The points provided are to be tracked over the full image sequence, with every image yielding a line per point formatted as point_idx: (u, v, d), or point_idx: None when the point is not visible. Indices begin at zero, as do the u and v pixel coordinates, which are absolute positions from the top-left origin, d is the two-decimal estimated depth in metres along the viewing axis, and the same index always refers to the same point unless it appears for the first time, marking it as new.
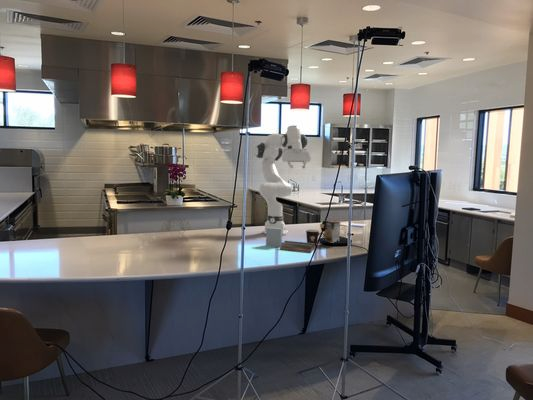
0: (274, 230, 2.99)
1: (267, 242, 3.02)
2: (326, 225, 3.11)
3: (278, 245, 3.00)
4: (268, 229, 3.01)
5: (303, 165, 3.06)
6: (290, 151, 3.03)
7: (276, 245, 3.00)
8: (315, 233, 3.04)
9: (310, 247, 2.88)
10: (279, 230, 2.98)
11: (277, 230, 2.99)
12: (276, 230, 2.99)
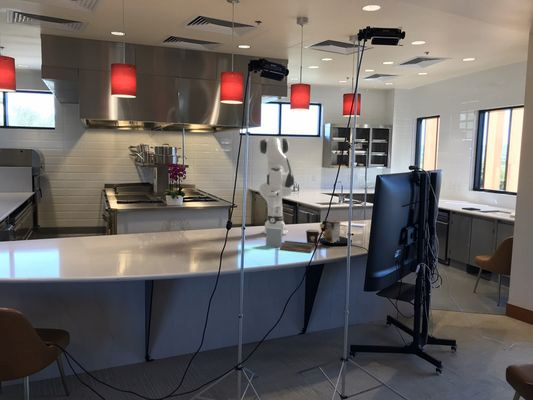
0: (274, 230, 2.99)
1: (267, 242, 3.02)
2: (326, 225, 3.11)
3: (278, 245, 3.00)
4: (268, 229, 3.01)
5: (278, 210, 3.03)
6: (276, 198, 2.93)
7: (276, 245, 3.00)
8: (315, 233, 3.04)
9: (310, 247, 2.88)
10: (279, 230, 2.98)
11: (277, 230, 2.99)
12: (276, 230, 2.99)
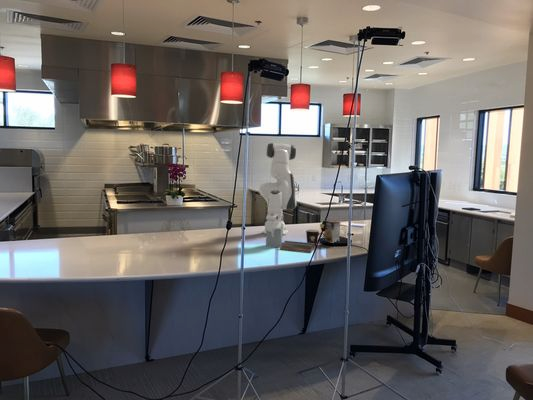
0: None
1: (267, 242, 3.02)
2: (326, 225, 3.11)
3: (278, 245, 3.00)
4: None
5: None
6: (275, 221, 2.95)
7: (276, 245, 3.00)
8: (315, 233, 3.04)
9: (310, 247, 2.88)
10: (279, 230, 2.98)
11: (277, 230, 2.99)
12: (276, 230, 2.99)
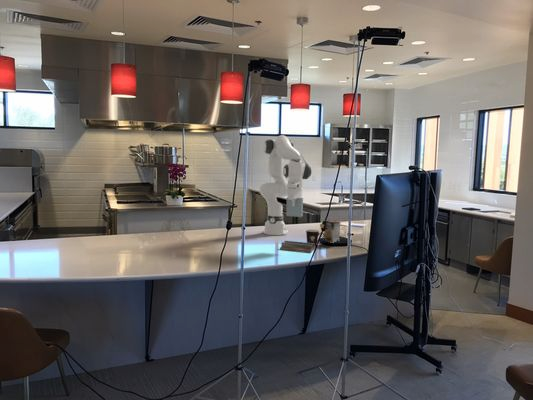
0: (295, 199, 2.91)
1: (287, 212, 2.93)
2: (326, 225, 3.11)
3: (299, 215, 2.91)
4: None
5: None
6: (296, 189, 2.86)
7: (297, 215, 2.91)
8: (315, 233, 3.04)
9: (310, 247, 2.88)
10: (300, 199, 2.90)
11: (298, 199, 2.90)
12: (297, 199, 2.90)
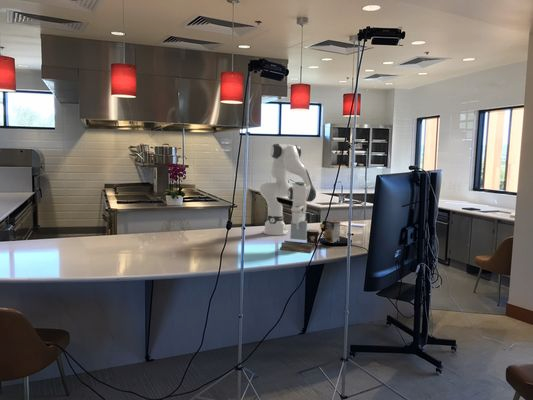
0: None
1: (292, 235, 2.94)
2: (326, 225, 3.11)
3: (303, 238, 2.91)
4: None
5: None
6: (300, 213, 2.87)
7: (301, 238, 2.92)
8: (315, 233, 3.04)
9: (310, 247, 2.88)
10: (304, 222, 2.90)
11: (302, 222, 2.91)
12: (302, 223, 2.91)
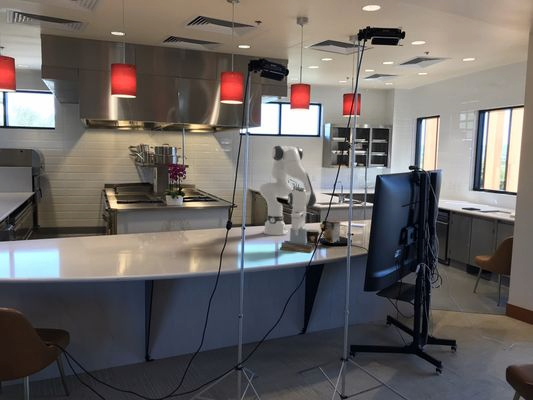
0: (298, 230, 2.92)
1: None
2: (326, 225, 3.11)
3: None
4: (292, 229, 2.93)
5: None
6: (300, 219, 2.87)
7: None
8: (315, 233, 3.04)
9: (310, 247, 2.88)
10: (304, 230, 2.91)
11: (302, 230, 2.91)
12: (301, 230, 2.92)
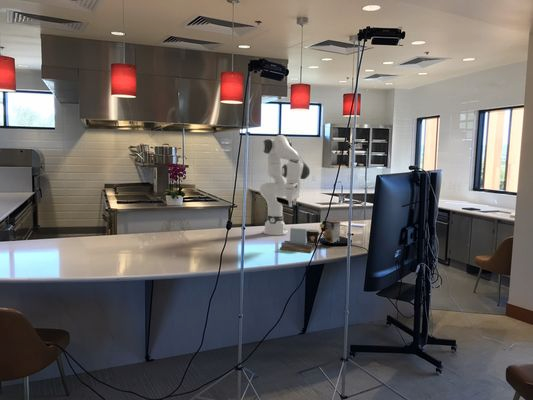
0: (298, 230, 2.92)
1: None
2: (326, 225, 3.11)
3: None
4: (292, 229, 2.93)
5: (295, 202, 2.99)
6: (294, 190, 2.89)
7: None
8: (315, 233, 3.04)
9: (310, 247, 2.88)
10: (304, 230, 2.91)
11: (302, 230, 2.91)
12: (301, 230, 2.92)
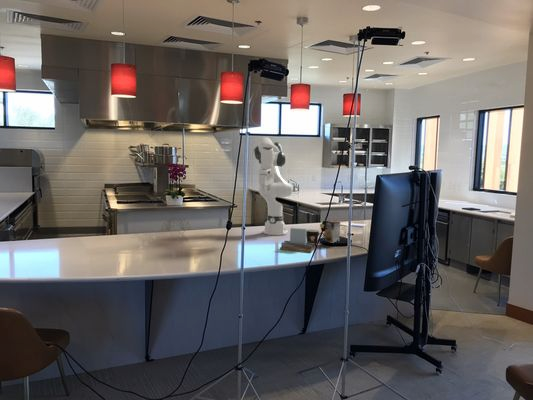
0: (298, 230, 2.92)
1: None
2: (326, 225, 3.11)
3: None
4: (292, 229, 2.93)
5: (269, 188, 3.12)
6: (267, 176, 3.02)
7: None
8: (315, 233, 3.04)
9: (310, 247, 2.88)
10: (304, 230, 2.91)
11: (302, 230, 2.91)
12: (301, 230, 2.92)
